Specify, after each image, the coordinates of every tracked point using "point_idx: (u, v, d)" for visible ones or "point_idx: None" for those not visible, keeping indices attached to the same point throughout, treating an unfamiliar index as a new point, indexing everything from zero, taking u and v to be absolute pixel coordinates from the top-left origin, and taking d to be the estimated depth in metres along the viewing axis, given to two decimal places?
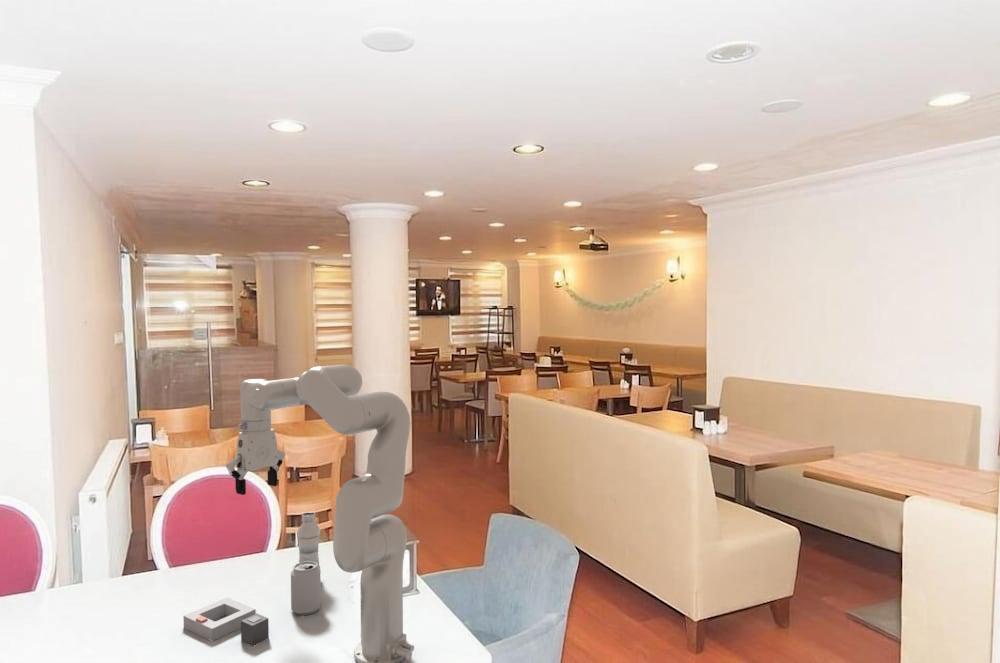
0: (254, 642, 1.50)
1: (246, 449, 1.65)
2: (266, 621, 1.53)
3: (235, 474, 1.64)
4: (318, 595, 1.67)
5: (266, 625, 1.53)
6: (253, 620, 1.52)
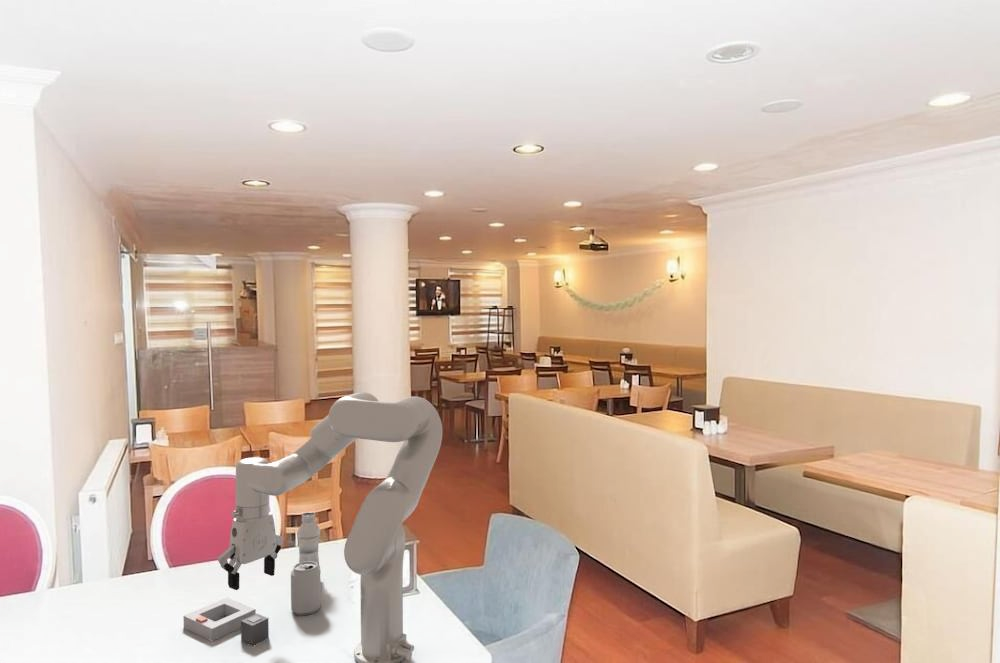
0: (254, 642, 1.50)
1: (241, 539, 1.47)
2: (266, 621, 1.53)
3: (228, 568, 1.46)
4: (318, 595, 1.67)
5: (266, 625, 1.53)
6: (253, 620, 1.52)
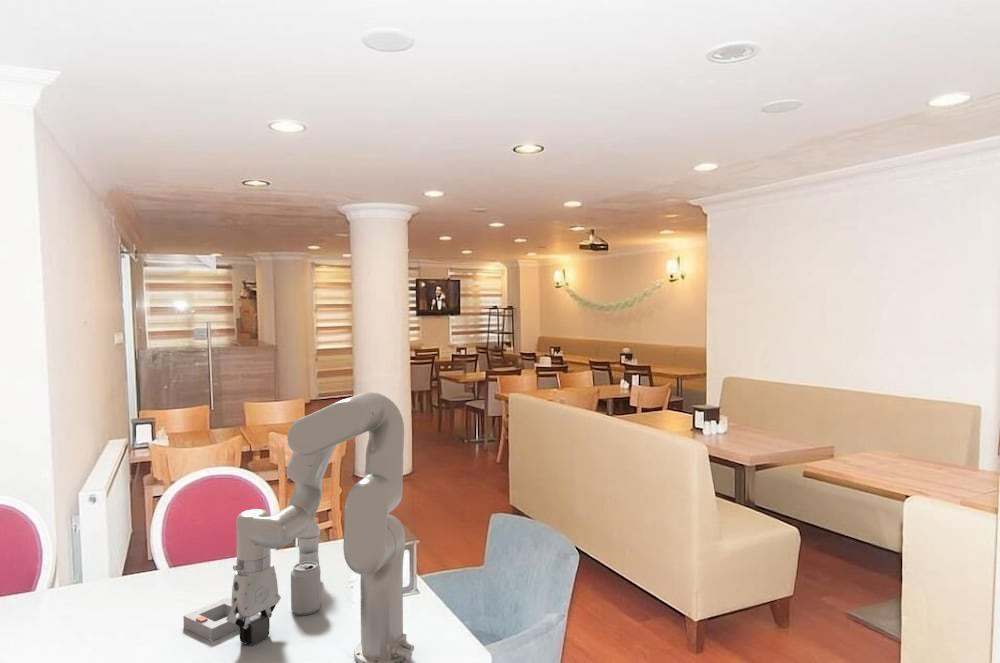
0: (254, 642, 1.50)
1: (243, 593, 1.47)
2: (266, 621, 1.53)
3: (239, 623, 1.48)
4: (318, 595, 1.67)
5: (266, 625, 1.53)
6: (253, 620, 1.52)
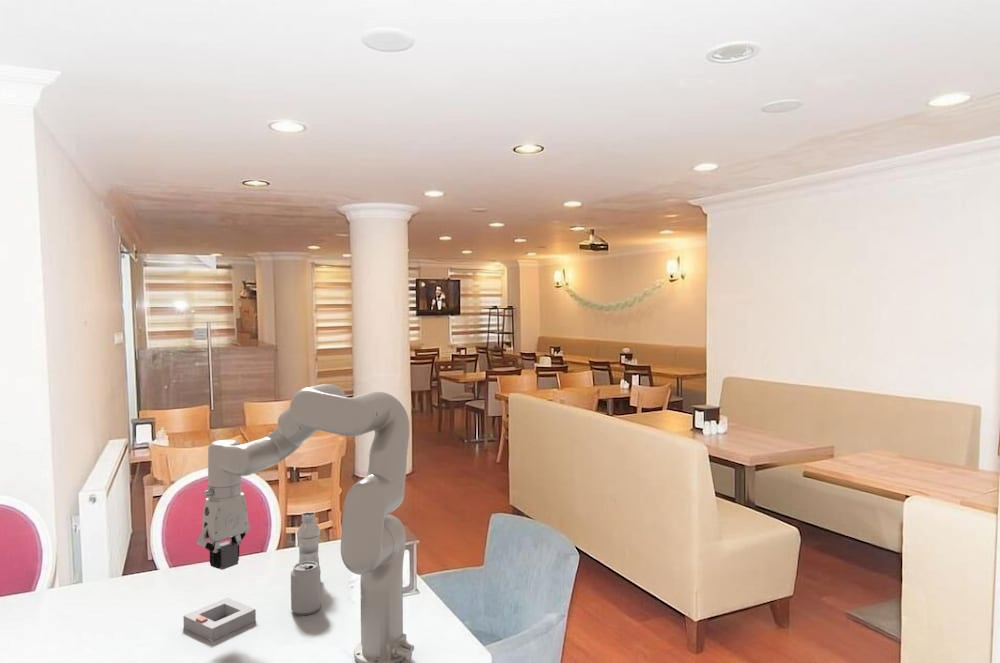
0: (223, 566, 1.56)
1: (213, 518, 1.53)
2: (236, 547, 1.59)
3: (209, 547, 1.54)
4: (318, 595, 1.67)
5: (236, 551, 1.59)
6: (223, 545, 1.58)
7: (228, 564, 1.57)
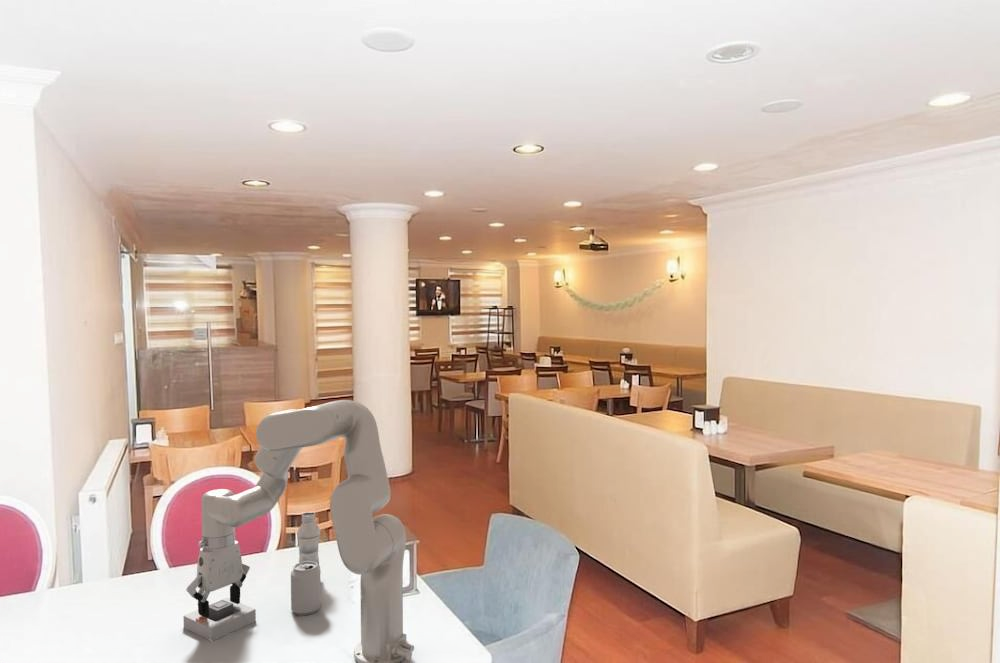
0: None
1: (207, 568, 1.55)
2: (231, 606, 1.61)
3: (197, 597, 1.54)
4: (318, 595, 1.67)
5: (231, 610, 1.61)
6: (218, 605, 1.60)
7: None
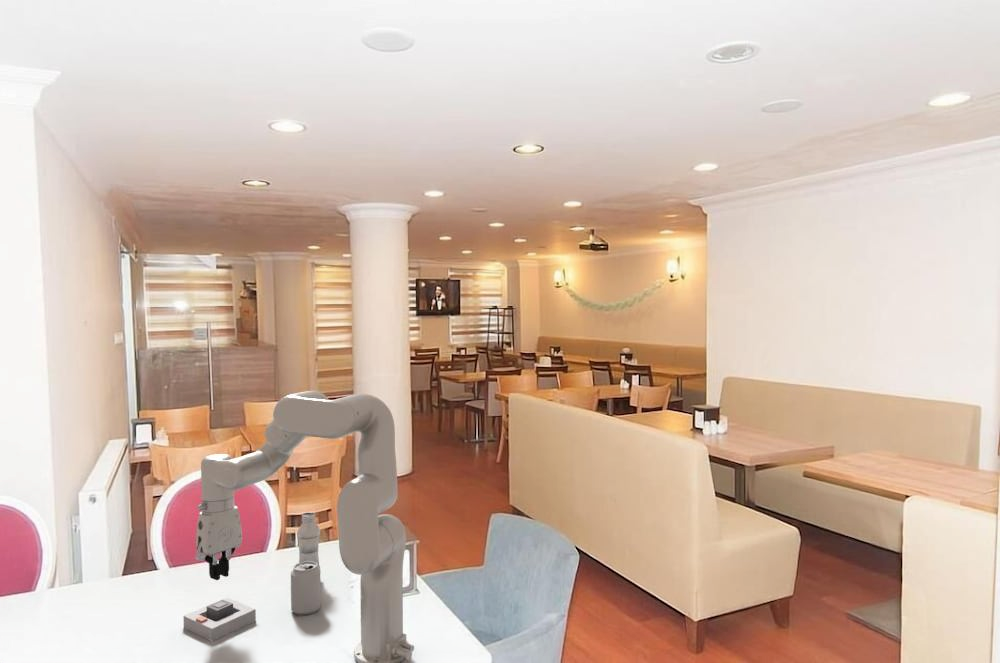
0: None
1: (206, 532, 1.55)
2: (231, 606, 1.61)
3: (208, 559, 1.57)
4: (318, 595, 1.67)
5: (231, 610, 1.61)
6: (218, 605, 1.60)
7: None
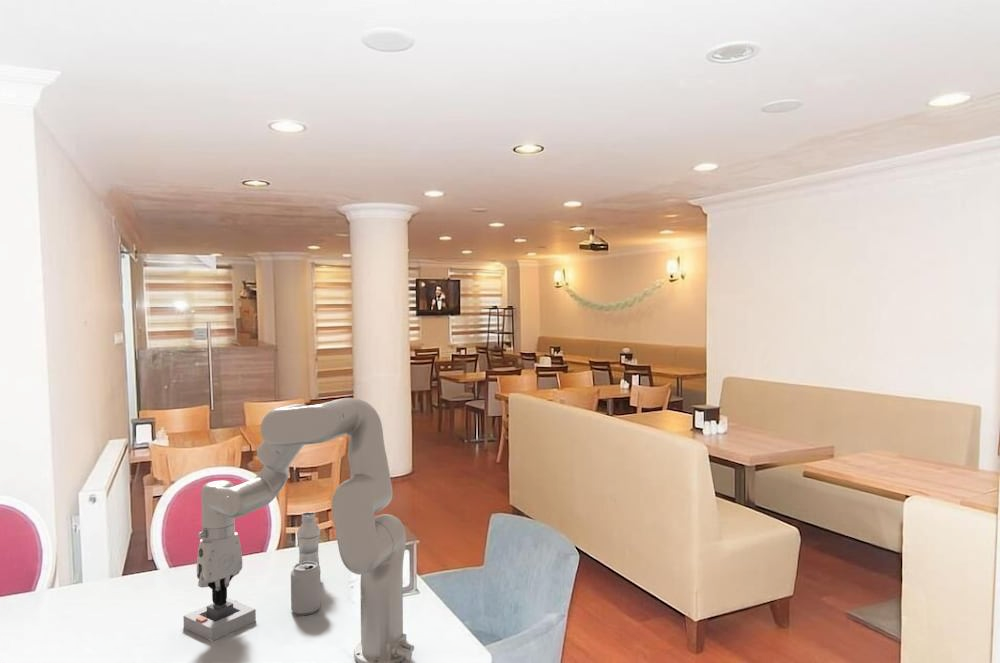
0: None
1: (207, 559, 1.55)
2: (231, 606, 1.61)
3: (211, 585, 1.58)
4: (318, 595, 1.67)
5: (231, 610, 1.61)
6: (218, 605, 1.60)
7: None
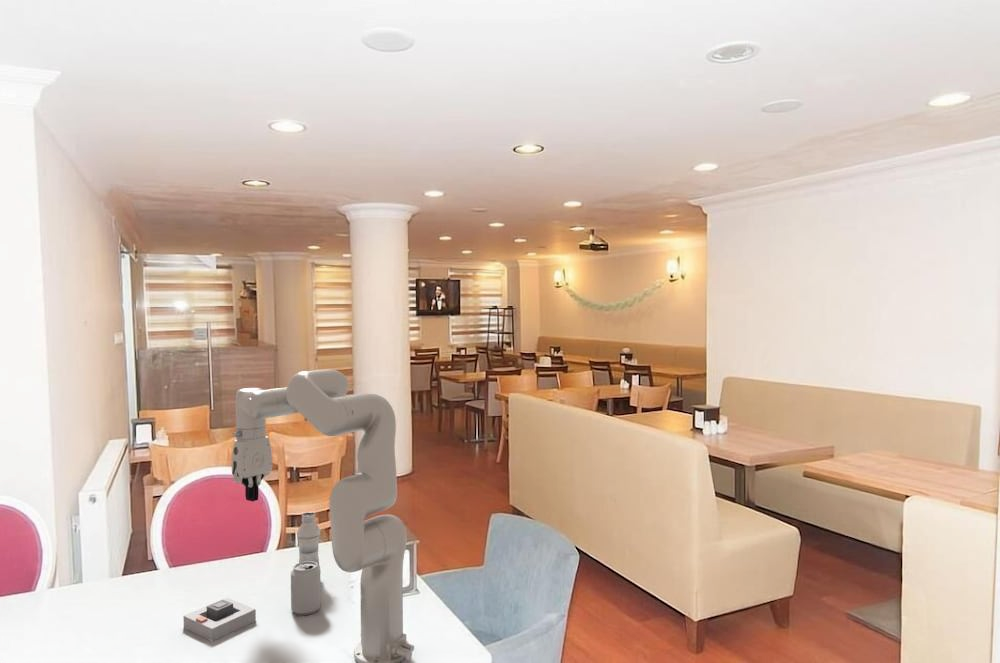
0: None
1: (241, 456, 1.69)
2: (231, 606, 1.61)
3: (245, 482, 1.72)
4: (318, 595, 1.67)
5: (231, 610, 1.61)
6: (218, 605, 1.60)
7: None
